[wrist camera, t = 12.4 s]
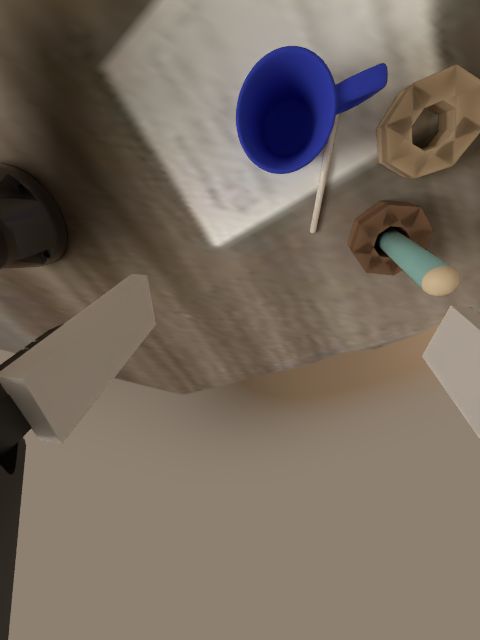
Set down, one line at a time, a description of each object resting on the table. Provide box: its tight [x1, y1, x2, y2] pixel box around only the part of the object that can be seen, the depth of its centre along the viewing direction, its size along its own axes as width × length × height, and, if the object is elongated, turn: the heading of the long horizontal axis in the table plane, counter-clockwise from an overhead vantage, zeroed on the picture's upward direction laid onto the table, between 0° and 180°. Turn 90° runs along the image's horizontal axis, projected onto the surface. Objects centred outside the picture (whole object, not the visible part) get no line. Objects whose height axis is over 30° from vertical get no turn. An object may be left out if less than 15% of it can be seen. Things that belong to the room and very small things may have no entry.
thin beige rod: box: [310, 114, 339, 233], centre depth 30 cm, size 15×1×1 cm, turn 177°
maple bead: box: [376, 64, 480, 179], centre depth 25 cm, size 8×8×4 cm
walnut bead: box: [348, 201, 434, 275], centre depth 31 cm, size 8×8×4 cm
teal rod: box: [375, 227, 460, 296], centre depth 26 cm, size 2×2×16 cm
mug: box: [236, 46, 388, 174], centre depth 24 cm, size 8×12×10 cm
